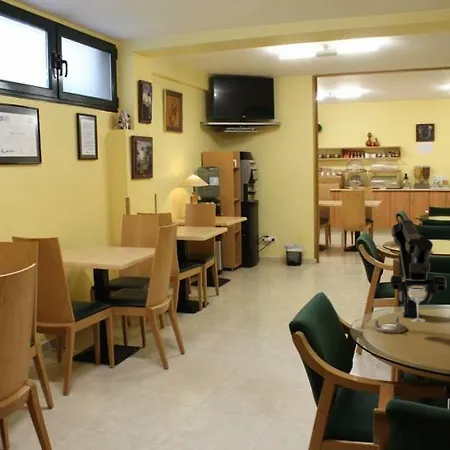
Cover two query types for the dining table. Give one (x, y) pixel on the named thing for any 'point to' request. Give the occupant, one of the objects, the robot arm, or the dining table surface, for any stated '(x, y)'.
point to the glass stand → (390, 327)
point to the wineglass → (417, 297)
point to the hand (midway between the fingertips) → (416, 303)
